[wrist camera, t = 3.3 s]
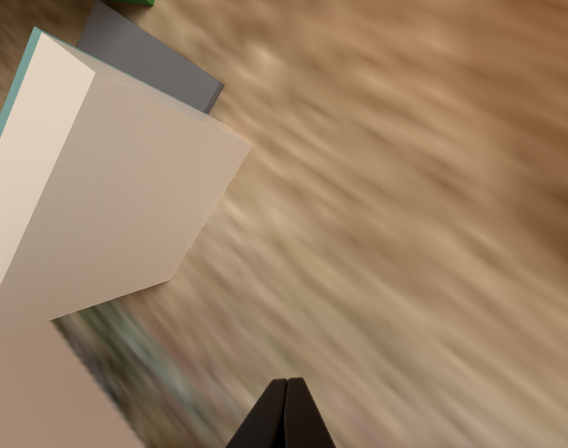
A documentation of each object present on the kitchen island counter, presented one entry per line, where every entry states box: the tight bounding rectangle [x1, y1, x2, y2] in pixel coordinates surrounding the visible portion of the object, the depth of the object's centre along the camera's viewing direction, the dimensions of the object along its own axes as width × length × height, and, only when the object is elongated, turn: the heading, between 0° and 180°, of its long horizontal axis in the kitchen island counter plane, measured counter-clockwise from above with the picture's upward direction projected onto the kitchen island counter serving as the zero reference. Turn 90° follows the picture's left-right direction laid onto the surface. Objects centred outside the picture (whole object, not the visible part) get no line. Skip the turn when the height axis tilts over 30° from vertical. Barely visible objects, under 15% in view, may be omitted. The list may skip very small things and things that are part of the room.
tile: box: [0, 26, 253, 337], centre depth 16 cm, size 3×11×11 cm, turn 144°
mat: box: [76, 0, 224, 114], centre depth 23 cm, size 12×15×1 cm
